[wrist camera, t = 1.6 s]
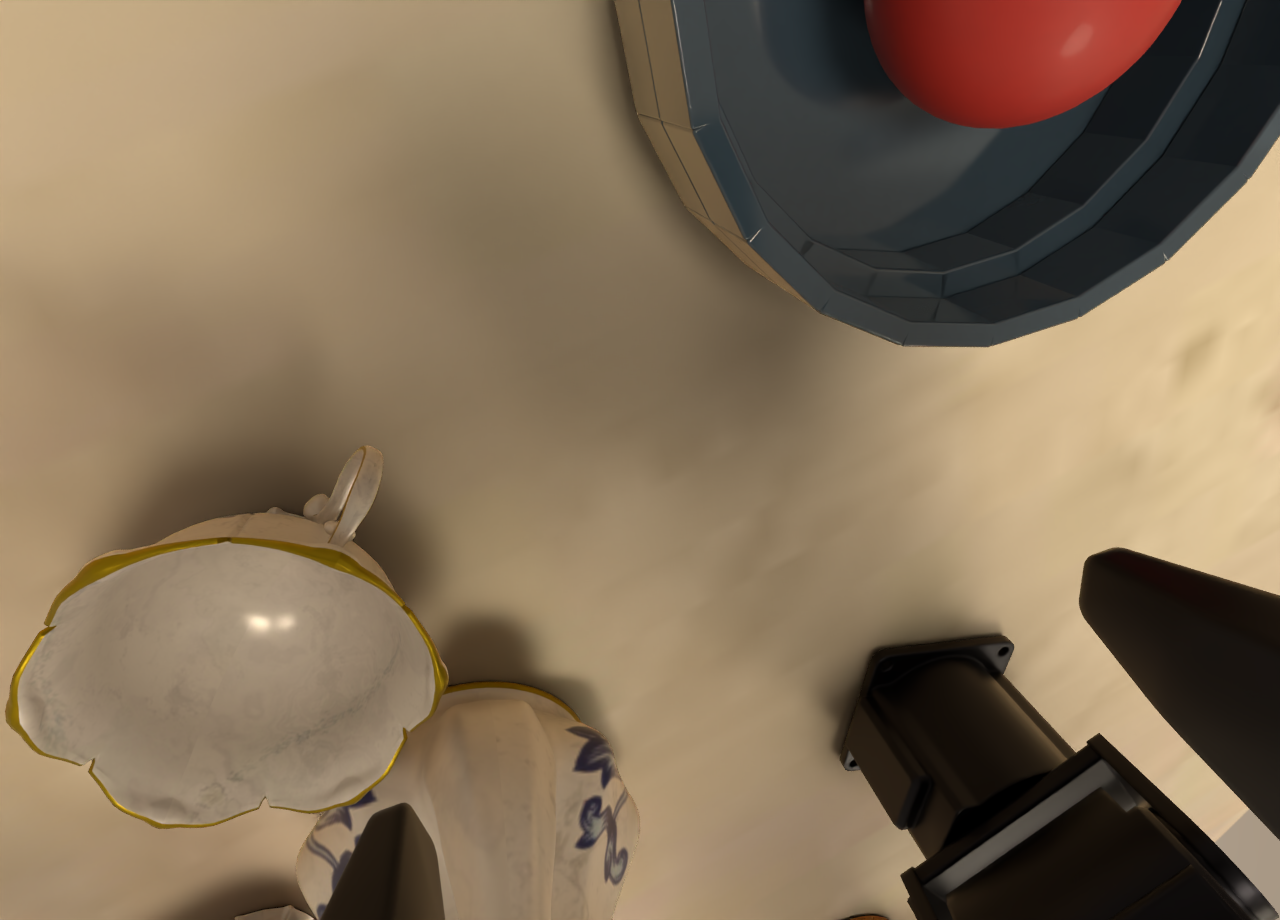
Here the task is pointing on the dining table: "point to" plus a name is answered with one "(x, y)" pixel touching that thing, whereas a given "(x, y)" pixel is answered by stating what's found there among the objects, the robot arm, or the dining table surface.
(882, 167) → the bowl
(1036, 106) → the apple
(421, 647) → the chinaware
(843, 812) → the dining table surface
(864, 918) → the disposable coffee cup
